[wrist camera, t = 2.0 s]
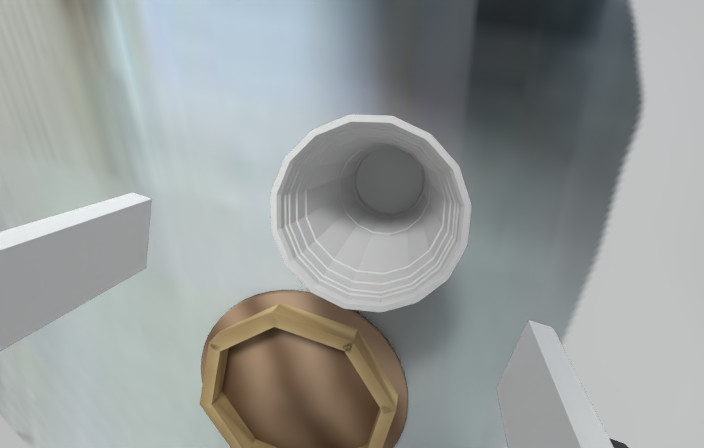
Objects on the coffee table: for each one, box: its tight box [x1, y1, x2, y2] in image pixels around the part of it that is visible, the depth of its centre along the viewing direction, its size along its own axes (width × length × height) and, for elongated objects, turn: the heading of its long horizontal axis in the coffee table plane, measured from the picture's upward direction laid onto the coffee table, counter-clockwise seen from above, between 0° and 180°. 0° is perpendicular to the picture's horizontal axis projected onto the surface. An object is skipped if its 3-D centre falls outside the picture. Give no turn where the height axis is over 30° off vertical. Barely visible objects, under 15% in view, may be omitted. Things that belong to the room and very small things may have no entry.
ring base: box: [200, 290, 408, 448], centre depth 39 cm, size 21×21×3 cm
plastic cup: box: [271, 114, 472, 313], centre depth 26 cm, size 11×11×12 cm
